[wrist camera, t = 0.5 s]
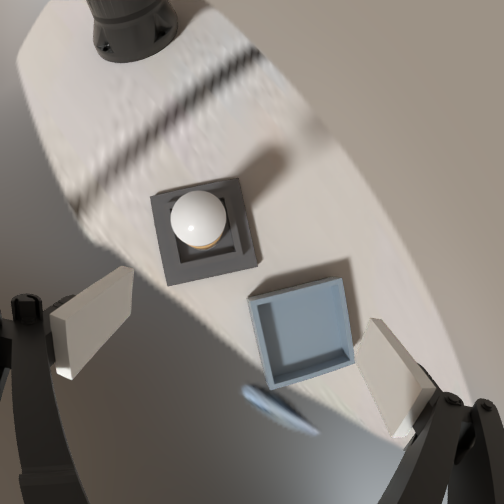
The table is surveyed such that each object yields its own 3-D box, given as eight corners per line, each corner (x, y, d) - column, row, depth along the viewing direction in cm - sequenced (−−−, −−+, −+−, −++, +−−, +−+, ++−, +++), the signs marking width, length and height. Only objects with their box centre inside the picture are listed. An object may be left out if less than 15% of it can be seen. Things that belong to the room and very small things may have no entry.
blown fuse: (180, 216, 38) (166, 197, 26) (217, 208, 39) (220, 185, 27) (187, 254, 38) (176, 251, 26) (225, 245, 39) (231, 239, 27)
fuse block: (151, 198, 39) (147, 194, 36) (237, 179, 40) (239, 174, 38) (168, 285, 39) (165, 287, 36) (256, 266, 40) (259, 266, 38)
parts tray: (246, 297, 40) (250, 301, 36) (331, 276, 42) (341, 277, 38) (265, 380, 40) (270, 390, 36) (345, 356, 42) (355, 363, 38)
